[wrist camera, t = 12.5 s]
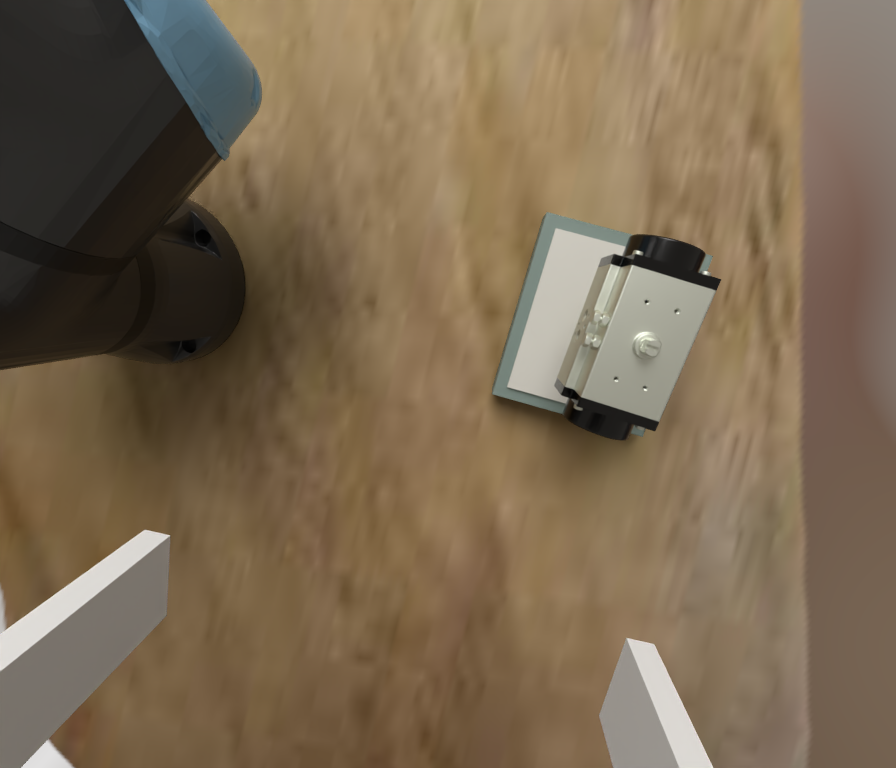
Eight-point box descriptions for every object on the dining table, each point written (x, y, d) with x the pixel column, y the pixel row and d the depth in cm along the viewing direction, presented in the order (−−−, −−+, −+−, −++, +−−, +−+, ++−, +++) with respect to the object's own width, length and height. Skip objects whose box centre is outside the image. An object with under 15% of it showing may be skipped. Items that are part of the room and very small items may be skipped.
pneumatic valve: (655, 266, 33) (746, 250, 21) (599, 406, 36) (652, 461, 24) (586, 244, 33) (638, 217, 21) (535, 386, 36) (556, 430, 24)
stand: (492, 387, 39) (492, 394, 36) (542, 217, 36) (547, 211, 33) (632, 427, 38) (643, 437, 36) (697, 258, 35) (714, 255, 32)
